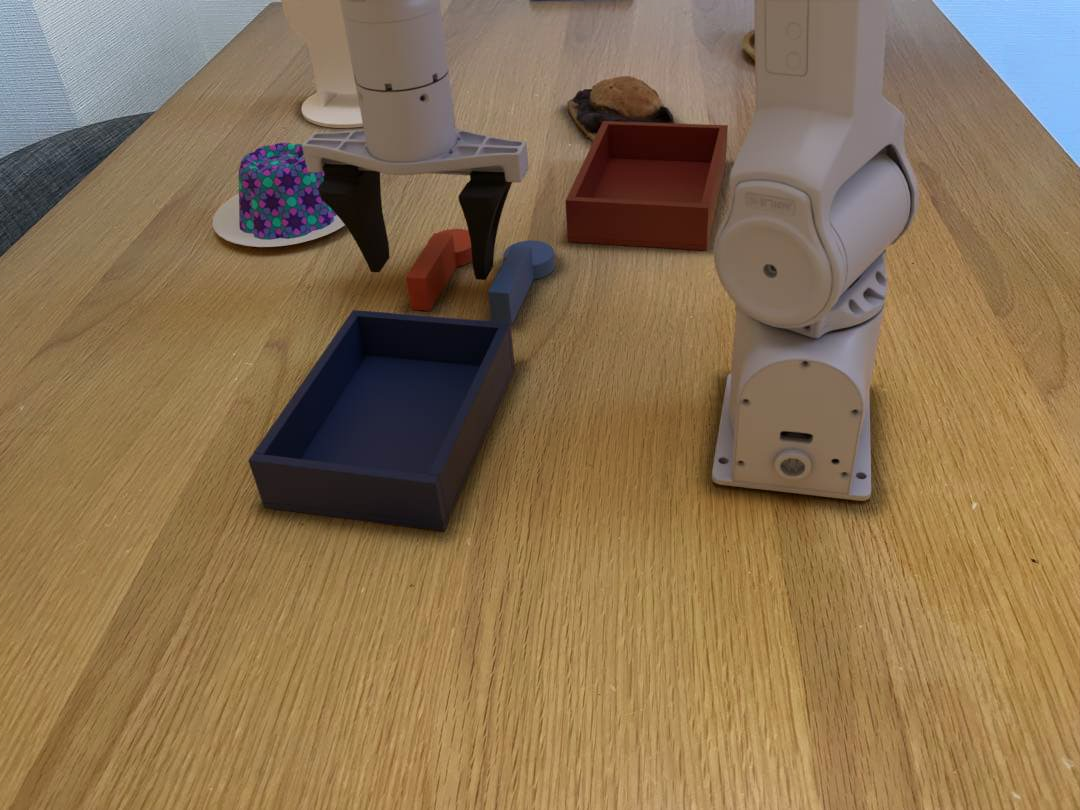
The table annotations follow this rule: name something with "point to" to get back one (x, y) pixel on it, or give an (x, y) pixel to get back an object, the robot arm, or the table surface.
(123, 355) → the table surface
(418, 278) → the red spoon
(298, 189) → the pudding
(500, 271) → the blue spoon
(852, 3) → the robot arm
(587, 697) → the table surface
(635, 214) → the red bin
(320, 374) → the blue bin
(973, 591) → the table surface
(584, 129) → the bread roll
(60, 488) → the table surface
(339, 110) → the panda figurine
